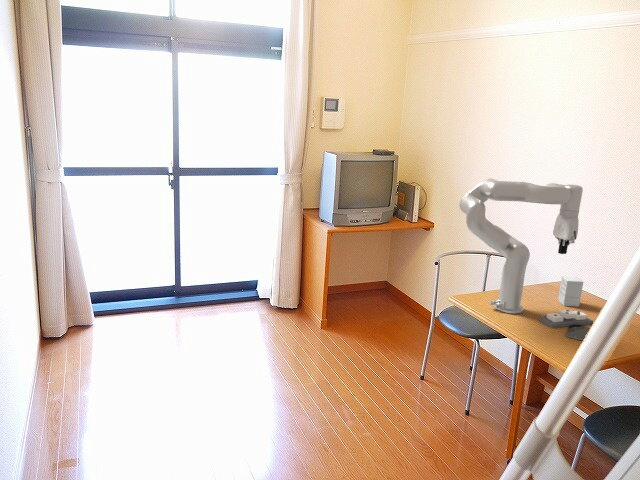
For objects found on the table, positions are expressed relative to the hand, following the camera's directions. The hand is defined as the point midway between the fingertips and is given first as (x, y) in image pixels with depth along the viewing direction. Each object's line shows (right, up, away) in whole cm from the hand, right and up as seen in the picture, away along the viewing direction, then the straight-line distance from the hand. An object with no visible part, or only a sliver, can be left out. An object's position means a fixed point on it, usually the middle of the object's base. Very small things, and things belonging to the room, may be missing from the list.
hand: (562, 253), depth 223 cm
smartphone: (-1, -33, -16) cm, 36 cm away
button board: (-1, -30, -6) cm, 30 cm away
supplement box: (+10, -25, +15) cm, 31 cm away
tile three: (+5, -28, -5) cm, 29 cm away
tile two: (-1, -27, -7) cm, 28 cm away
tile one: (-7, -28, -8) cm, 30 cm away
